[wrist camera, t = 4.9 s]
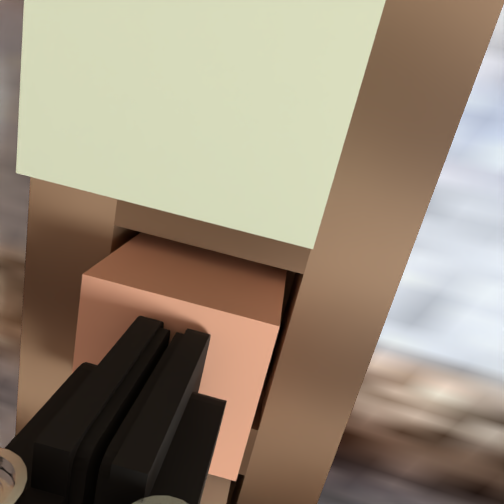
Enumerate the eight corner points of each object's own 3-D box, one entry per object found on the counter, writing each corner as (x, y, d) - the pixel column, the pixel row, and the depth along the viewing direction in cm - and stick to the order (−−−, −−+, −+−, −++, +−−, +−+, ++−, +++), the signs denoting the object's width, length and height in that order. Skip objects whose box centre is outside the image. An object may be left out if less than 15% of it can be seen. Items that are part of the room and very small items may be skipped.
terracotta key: (257, 367, 15) (235, 481, 11) (139, 335, 15) (65, 433, 11) (288, 253, 14) (279, 326, 9) (158, 220, 14) (82, 273, 9)
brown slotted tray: (272, 554, 19) (266, 639, 16) (55, 491, 19) (8, 562, 16) (482, -52, 11) (546, -113, 8) (119, -133, 12) (53, -219, 9)
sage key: (310, 189, 11) (312, 249, 6) (141, 147, 11) (15, 172, 6) (364, -7, 9) (424, -132, 5) (169, -51, 10) (33, -215, 5)
